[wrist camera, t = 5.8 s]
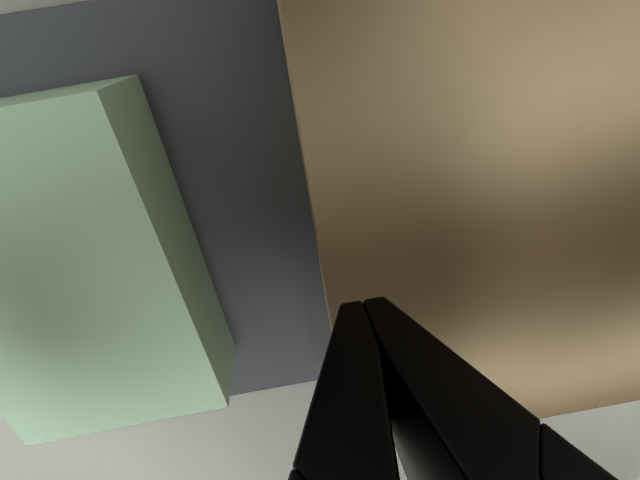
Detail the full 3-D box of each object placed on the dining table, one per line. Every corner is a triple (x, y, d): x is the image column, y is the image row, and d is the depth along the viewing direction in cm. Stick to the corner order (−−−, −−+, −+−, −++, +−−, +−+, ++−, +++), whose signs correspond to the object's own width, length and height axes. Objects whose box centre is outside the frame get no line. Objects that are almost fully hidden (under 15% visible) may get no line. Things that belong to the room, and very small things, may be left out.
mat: (349, 367, 15) (350, 373, 15) (43, 423, 15) (39, 430, 15) (293, -30, 9) (294, -31, 9) (-250, 54, 8) (-266, 55, 8)
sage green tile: (27, 445, 11) (66, 377, 14) (228, 407, 12) (235, 345, 14) (-239, 149, 7) (-117, 118, 9) (96, 90, 7) (137, 74, 9)
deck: (662, 292, 15) (778, 373, 12) (333, 352, 15) (352, 453, 11) (819, -110, 9) (1156, -191, 6) (271, -26, 9) (271, -56, 5)
